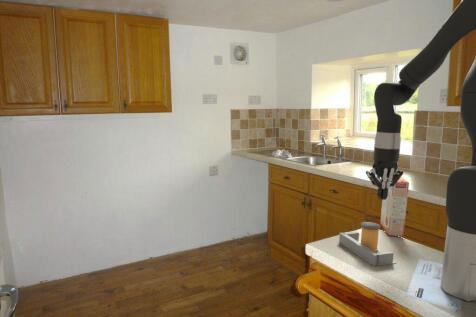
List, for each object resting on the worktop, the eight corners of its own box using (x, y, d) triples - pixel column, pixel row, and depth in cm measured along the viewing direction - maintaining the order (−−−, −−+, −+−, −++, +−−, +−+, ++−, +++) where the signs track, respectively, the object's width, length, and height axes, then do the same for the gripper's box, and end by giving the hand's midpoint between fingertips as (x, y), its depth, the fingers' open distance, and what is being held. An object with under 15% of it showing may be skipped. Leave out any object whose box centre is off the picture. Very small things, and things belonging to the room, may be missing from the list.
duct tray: (396, 263, 105) (397, 252, 105) (373, 266, 103) (374, 255, 102) (358, 240, 123) (359, 230, 122) (339, 242, 120) (339, 232, 120)
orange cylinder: (382, 253, 111) (384, 227, 110) (366, 255, 109) (368, 229, 108) (370, 246, 117) (372, 221, 115) (355, 248, 115) (357, 222, 114)
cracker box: (404, 237, 126) (409, 182, 123) (387, 236, 127) (392, 181, 124) (395, 224, 140) (400, 174, 136) (379, 223, 141) (384, 173, 138)
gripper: (376, 148, 104) (372, 203, 106) (413, 147, 107) (407, 201, 110) (361, 145, 111) (357, 197, 113) (396, 144, 114) (391, 195, 117)
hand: (382, 199), depth 112 cm, fingers closed
